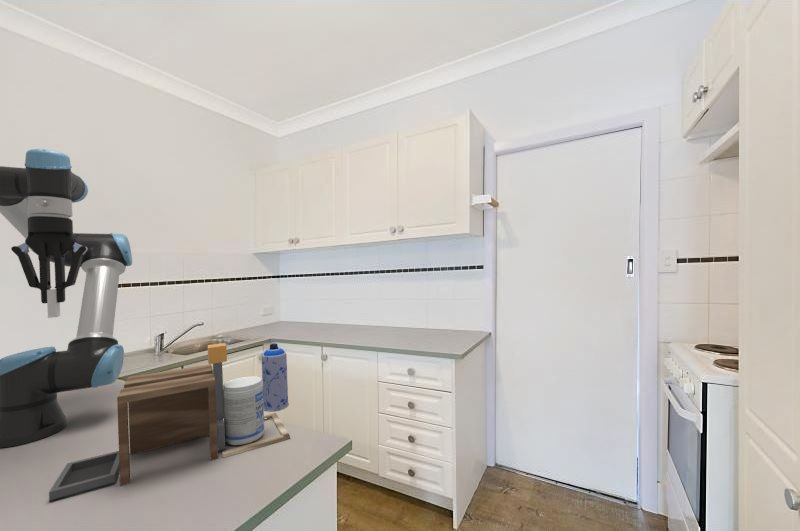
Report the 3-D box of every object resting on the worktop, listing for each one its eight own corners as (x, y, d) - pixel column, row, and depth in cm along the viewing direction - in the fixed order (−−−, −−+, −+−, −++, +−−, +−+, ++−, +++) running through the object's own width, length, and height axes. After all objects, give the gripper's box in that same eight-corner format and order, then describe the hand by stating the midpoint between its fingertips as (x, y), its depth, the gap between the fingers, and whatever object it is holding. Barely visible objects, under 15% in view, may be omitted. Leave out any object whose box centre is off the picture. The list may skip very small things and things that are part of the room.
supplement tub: (266, 440, 89) (264, 383, 89) (225, 451, 84) (223, 390, 84) (261, 425, 97) (259, 373, 97) (223, 434, 93) (221, 379, 93)
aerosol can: (268, 402, 115) (266, 341, 115) (292, 401, 115) (290, 341, 114) (258, 412, 107) (256, 347, 107) (283, 411, 107) (281, 346, 107)
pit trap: (67, 472, 78) (67, 463, 78) (124, 457, 83) (123, 449, 83) (49, 502, 67) (49, 492, 67) (115, 484, 73) (115, 474, 73)
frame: (217, 429, 96) (217, 426, 96) (275, 415, 104) (275, 412, 104) (222, 457, 81) (222, 454, 81) (290, 438, 89) (289, 435, 89)
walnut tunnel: (130, 452, 86) (128, 377, 85) (213, 431, 95) (211, 364, 95) (120, 486, 72) (117, 396, 72) (217, 458, 81) (215, 379, 81)
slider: (209, 433, 93) (206, 342, 93) (226, 429, 95) (223, 340, 95) (212, 452, 83) (208, 350, 83) (231, 447, 85) (227, 347, 85)
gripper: (3, 213, 75) (7, 322, 75) (83, 216, 82) (86, 315, 82) (17, 218, 82) (21, 318, 82) (90, 220, 89) (93, 312, 89)
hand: (54, 316), depth 82 cm, fingers closed
